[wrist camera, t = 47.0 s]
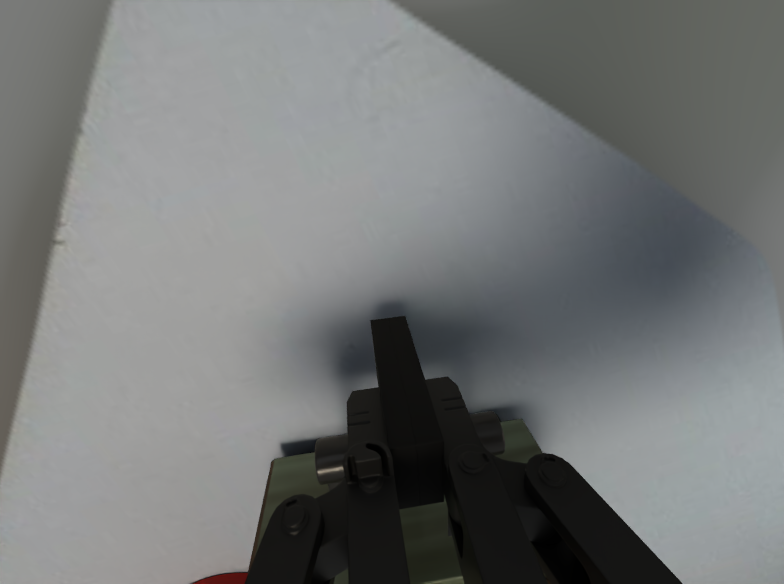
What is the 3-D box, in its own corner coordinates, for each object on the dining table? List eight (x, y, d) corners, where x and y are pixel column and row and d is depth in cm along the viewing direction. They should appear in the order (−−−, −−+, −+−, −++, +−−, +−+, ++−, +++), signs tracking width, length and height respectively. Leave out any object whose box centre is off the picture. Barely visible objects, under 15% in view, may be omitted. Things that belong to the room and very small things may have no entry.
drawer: (249, 383, 17) (196, 534, 11) (528, 342, 18) (627, 458, 12) (323, 610, 26) (317, 765, 20) (507, 574, 27) (557, 710, 21)
